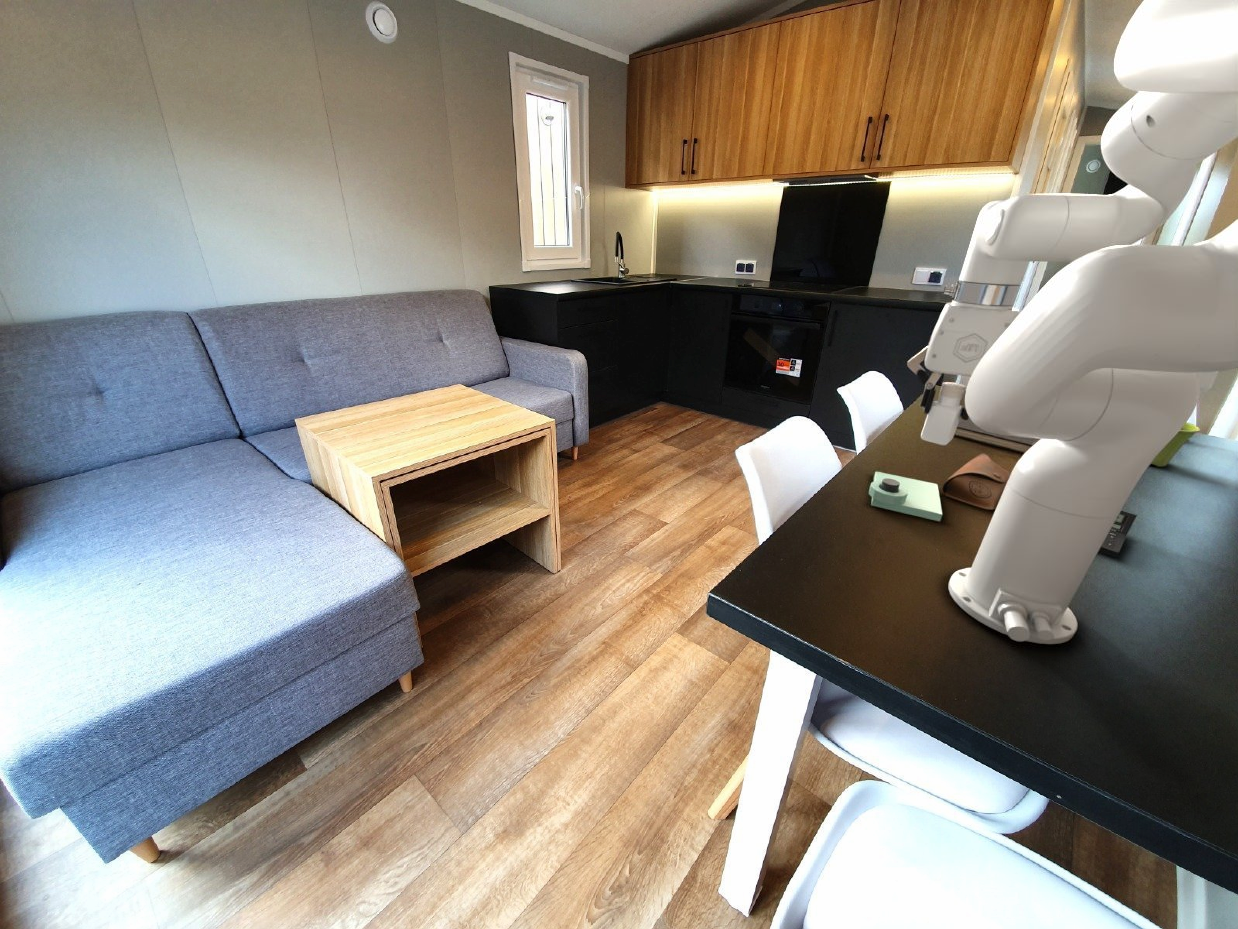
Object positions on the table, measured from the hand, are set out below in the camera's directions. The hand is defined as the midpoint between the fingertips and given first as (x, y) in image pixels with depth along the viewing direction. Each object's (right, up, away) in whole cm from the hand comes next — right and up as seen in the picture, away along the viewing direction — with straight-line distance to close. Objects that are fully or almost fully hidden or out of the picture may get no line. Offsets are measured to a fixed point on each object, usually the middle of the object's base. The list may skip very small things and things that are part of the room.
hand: (944, 413), depth 79 cm
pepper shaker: (0, -4, +2) cm, 5 cm away
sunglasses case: (+13, -13, +10) cm, 21 cm away
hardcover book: (+38, -1, +37) cm, 53 cm away
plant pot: (+59, -8, +24) cm, 64 cm away
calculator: (+20, -19, -2) cm, 28 cm away
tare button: (-8, -12, +3) cm, 15 cm away
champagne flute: (+78, -1, +39) cm, 87 cm away
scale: (-3, -14, +6) cm, 16 cm away
